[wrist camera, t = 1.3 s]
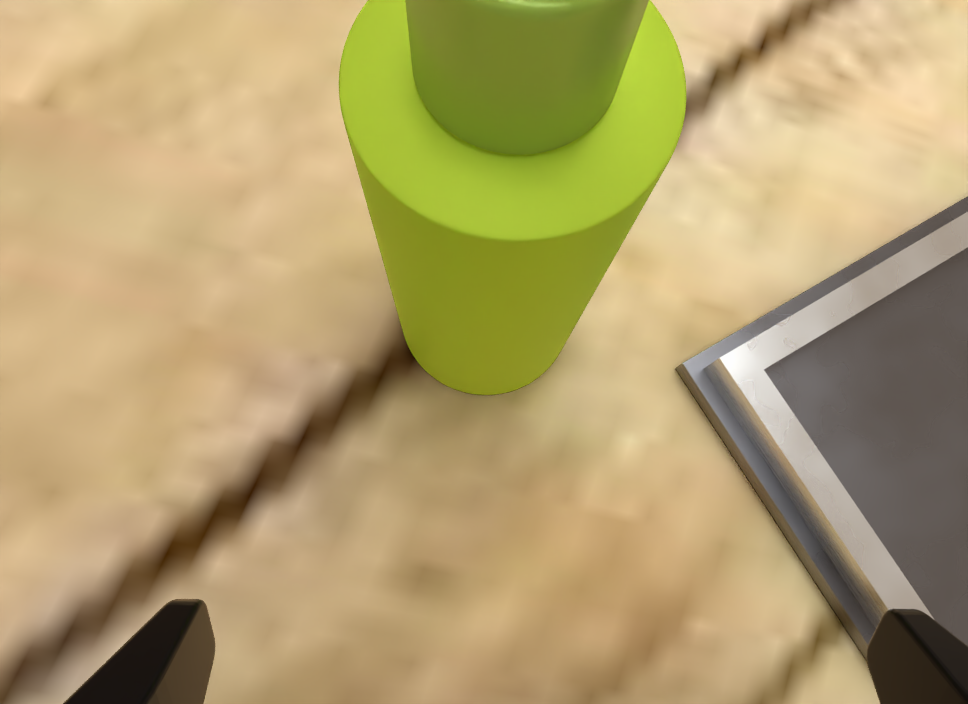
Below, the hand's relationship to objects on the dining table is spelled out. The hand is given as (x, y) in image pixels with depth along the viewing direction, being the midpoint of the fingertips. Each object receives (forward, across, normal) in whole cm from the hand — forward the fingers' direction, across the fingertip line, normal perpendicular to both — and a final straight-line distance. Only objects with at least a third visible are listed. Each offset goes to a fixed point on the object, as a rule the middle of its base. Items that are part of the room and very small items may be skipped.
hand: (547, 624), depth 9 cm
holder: (+12, -16, +7) cm, 22 cm away
